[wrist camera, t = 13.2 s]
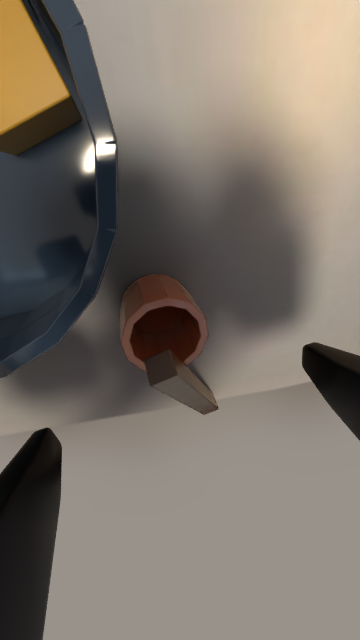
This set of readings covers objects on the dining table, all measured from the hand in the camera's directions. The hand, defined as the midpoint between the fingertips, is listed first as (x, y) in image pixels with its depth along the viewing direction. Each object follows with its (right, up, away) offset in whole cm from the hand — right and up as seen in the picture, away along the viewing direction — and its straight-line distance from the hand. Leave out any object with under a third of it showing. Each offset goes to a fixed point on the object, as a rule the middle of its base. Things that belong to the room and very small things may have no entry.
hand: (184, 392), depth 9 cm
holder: (-2, +3, +6) cm, 7 cm away
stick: (-1, +1, +1) cm, 2 cm away
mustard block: (-6, +11, 0) cm, 12 cm away
